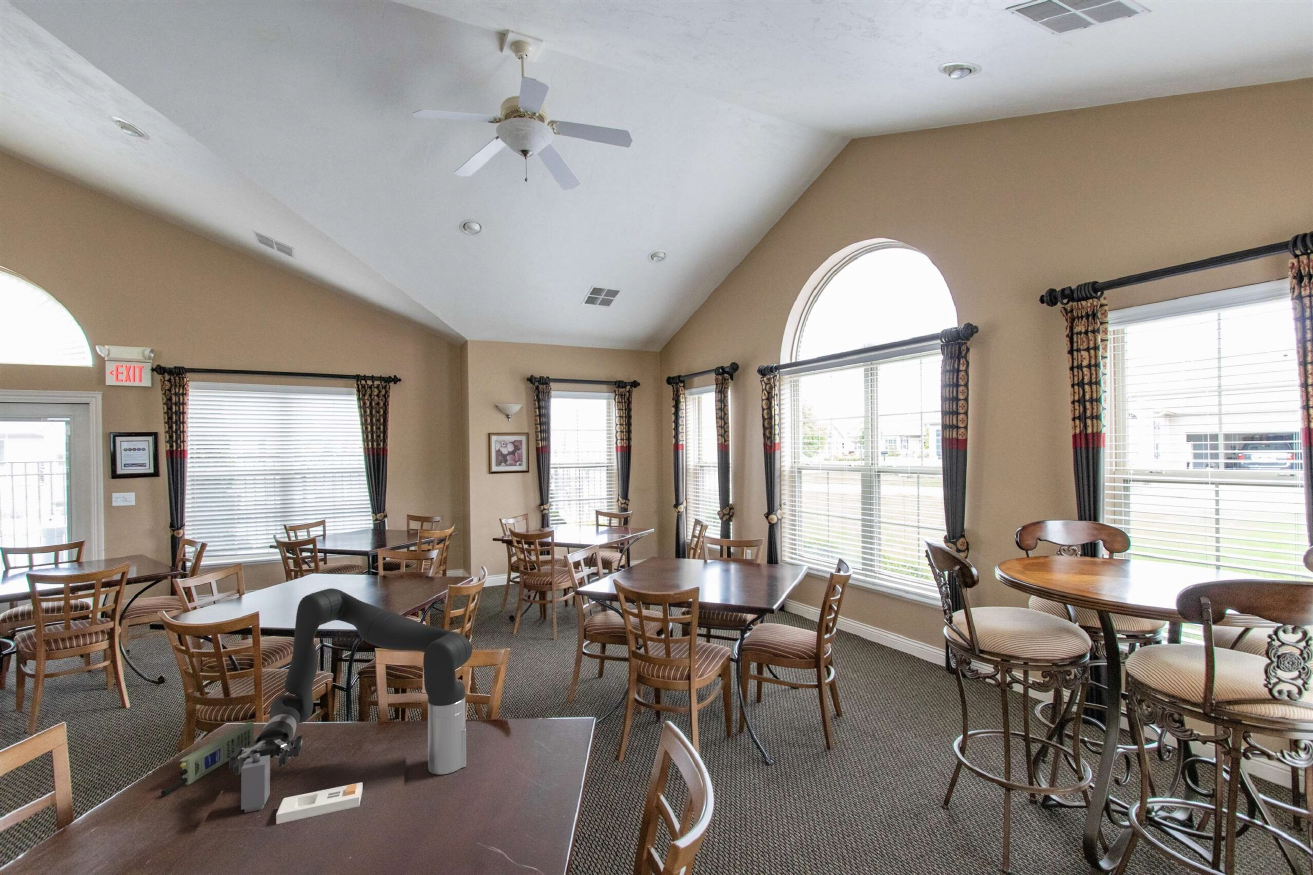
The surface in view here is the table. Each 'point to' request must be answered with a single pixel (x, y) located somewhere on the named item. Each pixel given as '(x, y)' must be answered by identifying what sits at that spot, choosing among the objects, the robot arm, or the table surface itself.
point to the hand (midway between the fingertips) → (259, 766)
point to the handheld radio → (213, 755)
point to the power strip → (319, 802)
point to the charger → (255, 782)
